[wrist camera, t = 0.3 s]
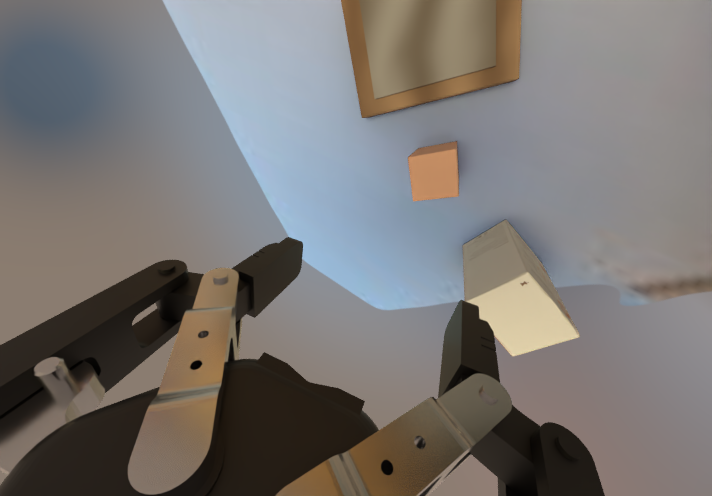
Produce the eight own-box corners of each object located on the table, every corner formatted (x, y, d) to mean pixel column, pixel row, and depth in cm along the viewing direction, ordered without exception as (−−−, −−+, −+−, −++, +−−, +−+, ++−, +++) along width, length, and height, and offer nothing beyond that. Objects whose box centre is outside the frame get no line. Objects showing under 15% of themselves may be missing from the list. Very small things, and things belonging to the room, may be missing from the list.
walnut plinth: (518, -81, 22) (526, -106, 20) (514, 80, 27) (519, 77, 24) (347, -3, 28) (337, -15, 26) (368, 117, 33) (360, 117, 30)
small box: (461, 244, 36) (462, 301, 25) (506, 218, 33) (529, 270, 22) (496, 286, 37) (512, 358, 26) (543, 264, 34) (584, 337, 23)
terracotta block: (456, 141, 31) (456, 148, 24) (458, 179, 33) (458, 196, 26) (418, 148, 33) (407, 157, 26) (422, 184, 34) (413, 201, 28)
